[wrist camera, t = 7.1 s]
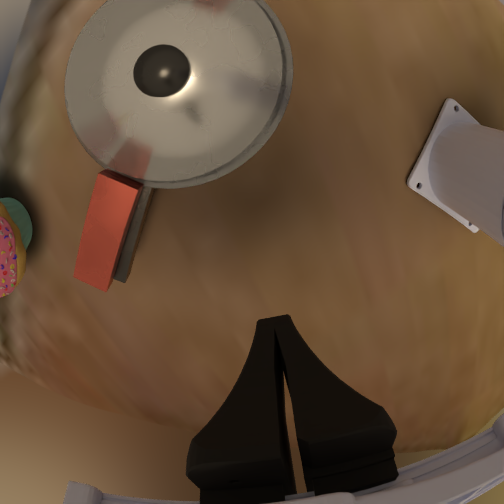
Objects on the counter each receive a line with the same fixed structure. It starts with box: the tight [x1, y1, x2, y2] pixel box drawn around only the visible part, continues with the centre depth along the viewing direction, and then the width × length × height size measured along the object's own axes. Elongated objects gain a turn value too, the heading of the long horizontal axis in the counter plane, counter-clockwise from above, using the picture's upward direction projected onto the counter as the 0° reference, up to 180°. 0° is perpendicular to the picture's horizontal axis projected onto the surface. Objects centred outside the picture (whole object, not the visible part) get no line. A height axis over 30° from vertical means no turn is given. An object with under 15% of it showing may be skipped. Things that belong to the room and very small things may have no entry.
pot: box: [65, 0, 293, 283], centre depth 16 cm, size 13×23×4 cm, turn 156°
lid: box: [65, 0, 282, 292], centre depth 13 cm, size 23×11×2 cm, turn 153°
